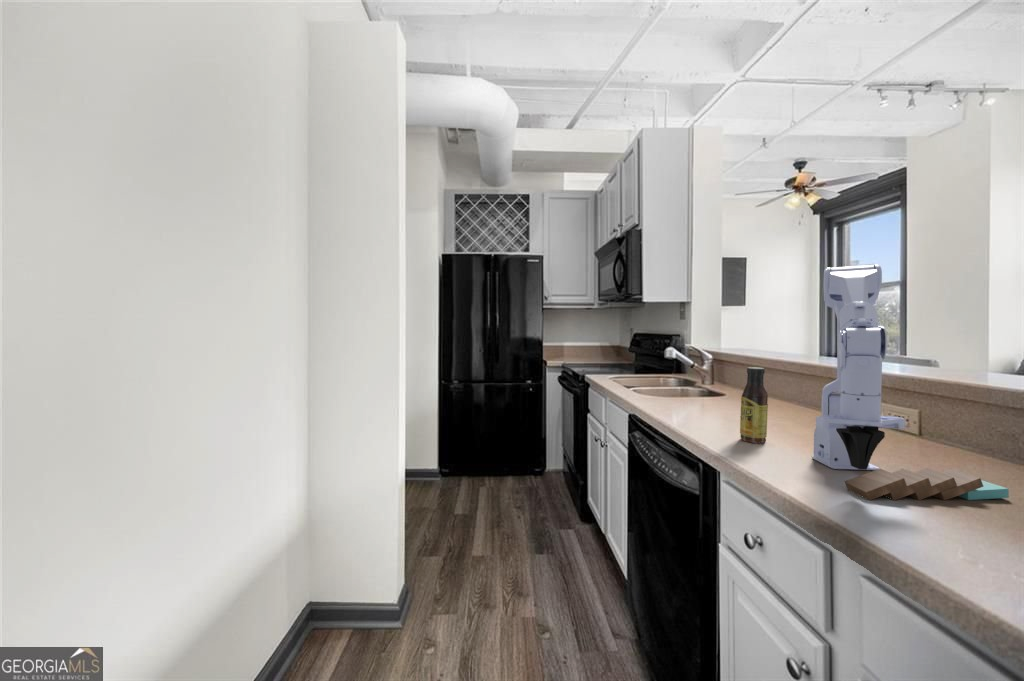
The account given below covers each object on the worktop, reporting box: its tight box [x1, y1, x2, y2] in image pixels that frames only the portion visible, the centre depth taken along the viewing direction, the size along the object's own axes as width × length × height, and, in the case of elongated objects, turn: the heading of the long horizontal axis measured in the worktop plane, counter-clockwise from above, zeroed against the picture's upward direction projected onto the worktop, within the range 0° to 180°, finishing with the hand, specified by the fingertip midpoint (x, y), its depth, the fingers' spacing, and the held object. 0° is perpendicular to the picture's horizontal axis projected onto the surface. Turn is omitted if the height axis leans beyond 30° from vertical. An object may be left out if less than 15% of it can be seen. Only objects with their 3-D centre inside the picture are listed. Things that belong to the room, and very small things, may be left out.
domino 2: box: [883, 468, 931, 501], centre depth 77 cm, size 2×5×7 cm
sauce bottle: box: [739, 366, 769, 444], centre depth 113 cm, size 7×6×20 cm
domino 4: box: [932, 468, 984, 501], centre depth 77 cm, size 2×5×7 cm
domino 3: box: [907, 467, 957, 501], centre depth 77 cm, size 2×5×7 cm
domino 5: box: [958, 479, 1010, 501], centre depth 77 cm, size 2×5×7 cm
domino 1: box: [844, 468, 907, 501], centre depth 77 cm, size 2×5×7 cm
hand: (858, 467), depth 77 cm, fingers closed
